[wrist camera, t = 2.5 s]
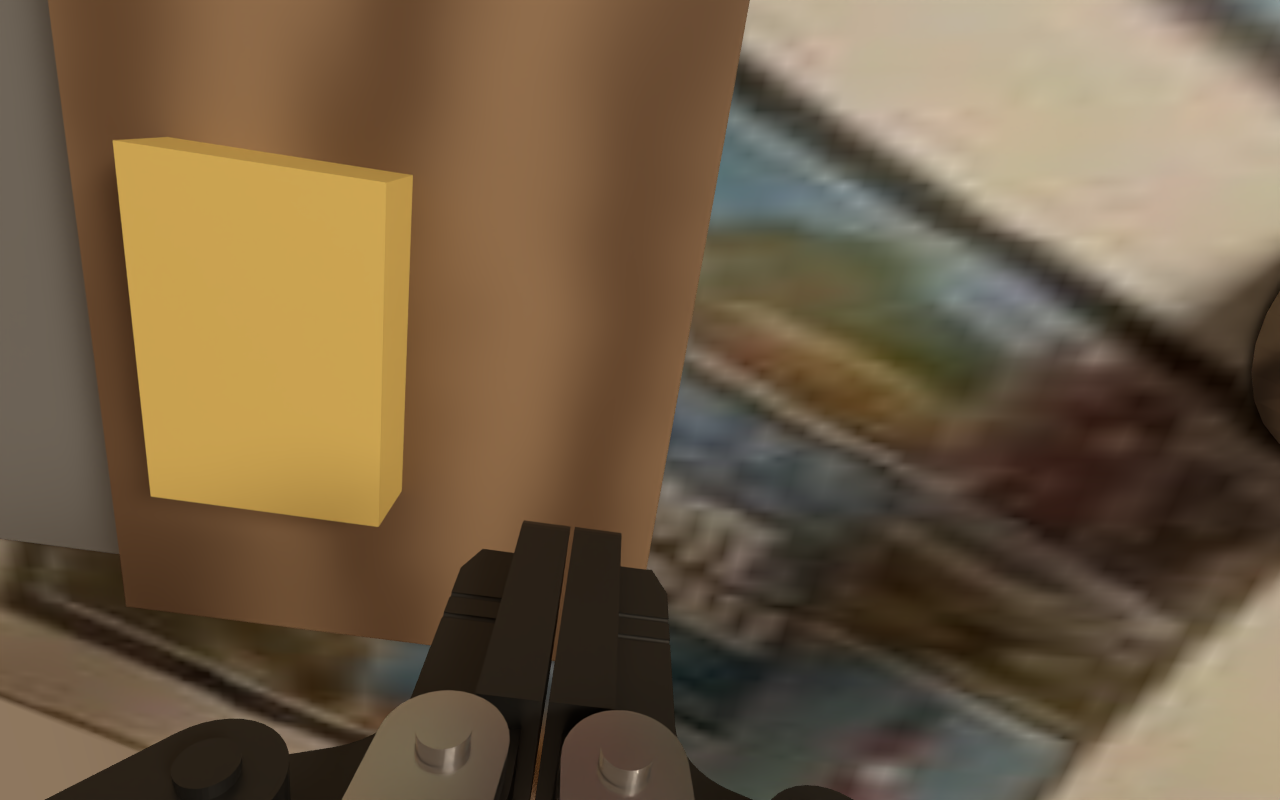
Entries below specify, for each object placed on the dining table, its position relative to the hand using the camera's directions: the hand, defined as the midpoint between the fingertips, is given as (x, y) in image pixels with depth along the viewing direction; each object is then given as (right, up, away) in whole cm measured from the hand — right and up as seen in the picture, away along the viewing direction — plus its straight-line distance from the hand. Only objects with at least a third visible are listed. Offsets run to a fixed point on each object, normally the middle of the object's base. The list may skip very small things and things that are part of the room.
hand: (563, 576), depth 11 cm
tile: (-8, +5, +9) cm, 13 cm away
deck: (-6, +5, +12) cm, 14 cm away
